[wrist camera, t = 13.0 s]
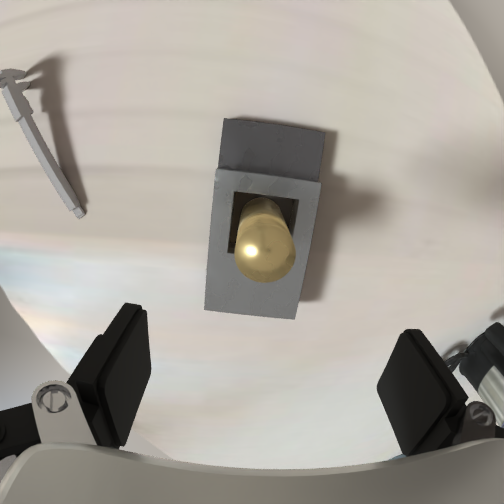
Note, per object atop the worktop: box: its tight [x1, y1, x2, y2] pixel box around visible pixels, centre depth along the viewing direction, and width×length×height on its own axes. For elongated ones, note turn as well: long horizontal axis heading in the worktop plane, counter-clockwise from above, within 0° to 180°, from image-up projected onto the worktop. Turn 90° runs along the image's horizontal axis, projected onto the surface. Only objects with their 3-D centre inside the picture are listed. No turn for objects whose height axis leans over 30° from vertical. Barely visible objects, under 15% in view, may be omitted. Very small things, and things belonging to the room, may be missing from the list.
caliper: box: [0, 69, 85, 219], centre depth 23 cm, size 20×1×6 cm, turn 26°
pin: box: [234, 198, 296, 283], centre depth 24 cm, size 4×4×10 cm
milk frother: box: [444, 322, 504, 428], centre depth 30 cm, size 14×16×15 cm
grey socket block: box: [204, 118, 325, 319], centre depth 28 cm, size 18×9×3 cm, turn 173°
